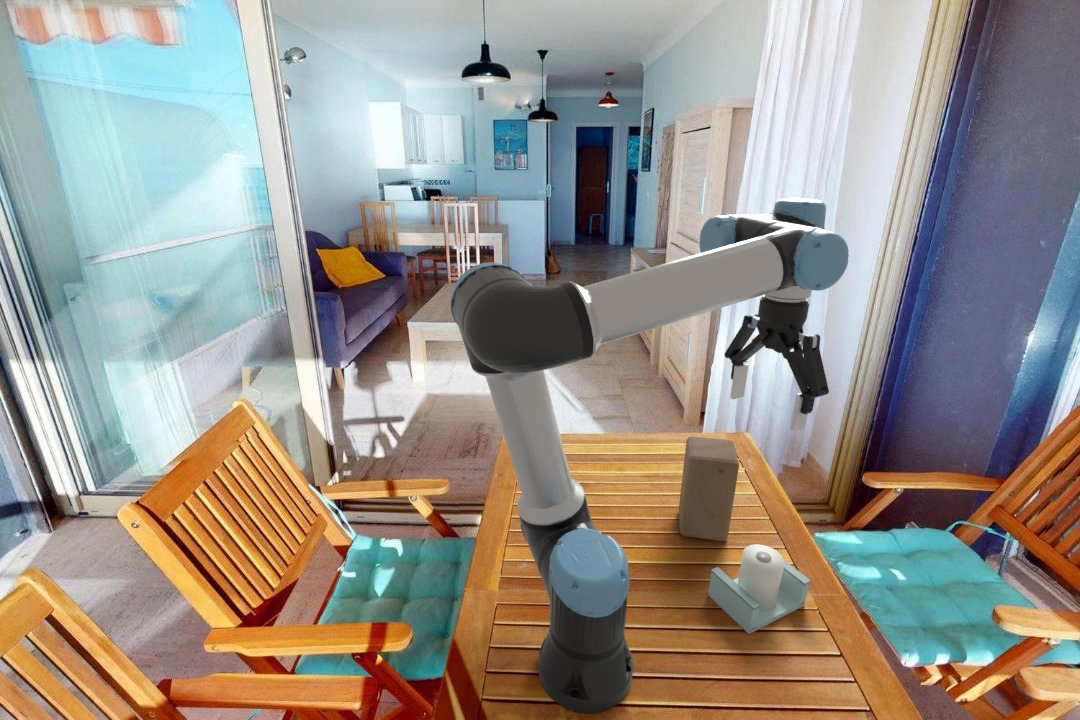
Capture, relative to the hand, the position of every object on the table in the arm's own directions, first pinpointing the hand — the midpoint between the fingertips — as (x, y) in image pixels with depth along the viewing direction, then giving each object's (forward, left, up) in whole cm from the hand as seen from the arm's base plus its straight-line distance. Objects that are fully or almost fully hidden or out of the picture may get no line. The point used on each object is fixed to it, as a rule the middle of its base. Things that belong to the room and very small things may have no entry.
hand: (765, 412), depth 99 cm
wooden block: (+2, +13, -35) cm, 37 cm away
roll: (-4, -8, -34) cm, 35 cm away
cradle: (-4, -8, -35) cm, 36 cm away
